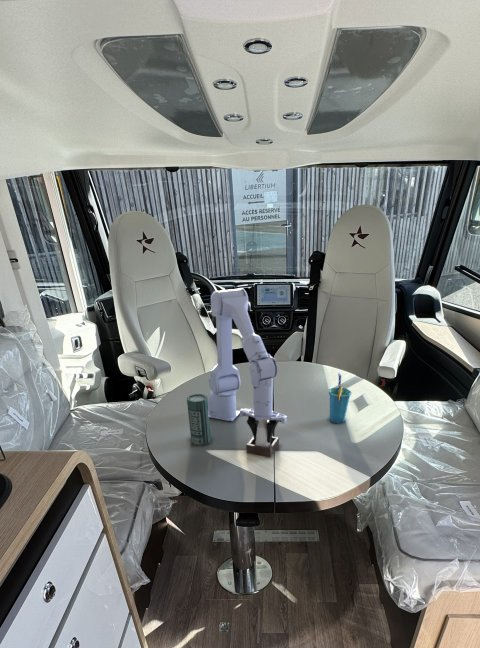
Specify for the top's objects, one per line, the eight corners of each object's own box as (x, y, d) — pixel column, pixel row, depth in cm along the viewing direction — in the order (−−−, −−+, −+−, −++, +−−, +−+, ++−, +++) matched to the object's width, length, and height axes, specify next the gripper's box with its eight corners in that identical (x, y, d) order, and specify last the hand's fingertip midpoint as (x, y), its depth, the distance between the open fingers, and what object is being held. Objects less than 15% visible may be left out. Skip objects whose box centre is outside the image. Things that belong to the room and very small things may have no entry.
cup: (324, 410, 164) (327, 370, 155) (345, 410, 164) (349, 371, 155) (327, 427, 152) (332, 386, 144) (350, 427, 152) (355, 386, 143)
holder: (246, 453, 138) (246, 444, 137) (255, 441, 144) (255, 433, 143) (270, 457, 136) (270, 449, 134) (278, 445, 142) (279, 437, 140)
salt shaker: (251, 447, 141) (251, 415, 135) (267, 443, 143) (267, 412, 137) (258, 455, 137) (258, 423, 131) (274, 451, 139) (274, 419, 133)
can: (213, 437, 146) (210, 395, 137) (205, 446, 142) (201, 402, 133) (196, 434, 148) (192, 392, 139) (188, 443, 143) (183, 400, 134)
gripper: (235, 400, 129) (236, 441, 137) (281, 408, 125) (280, 450, 133) (244, 391, 135) (245, 431, 143) (289, 398, 130) (287, 439, 139)
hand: (262, 439), depth 138 cm, fingers closed on salt shaker, 4 cm apart
